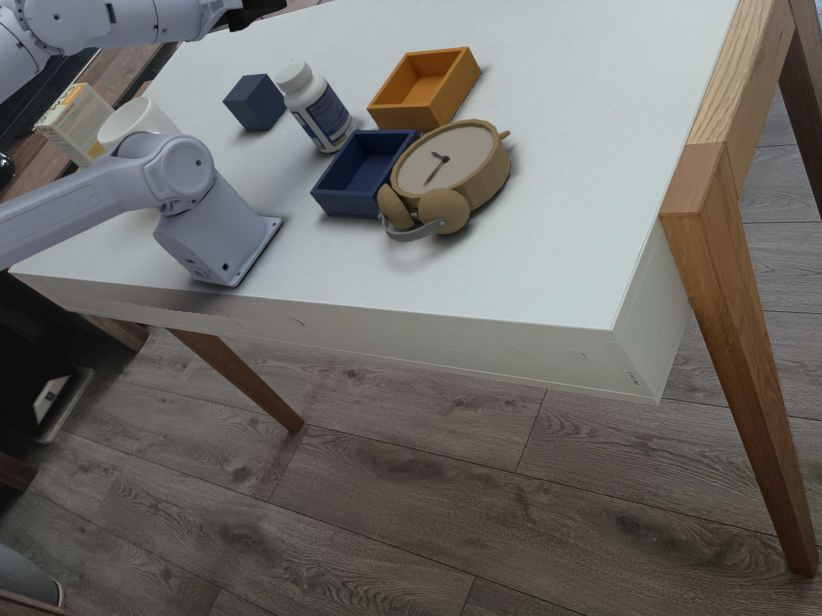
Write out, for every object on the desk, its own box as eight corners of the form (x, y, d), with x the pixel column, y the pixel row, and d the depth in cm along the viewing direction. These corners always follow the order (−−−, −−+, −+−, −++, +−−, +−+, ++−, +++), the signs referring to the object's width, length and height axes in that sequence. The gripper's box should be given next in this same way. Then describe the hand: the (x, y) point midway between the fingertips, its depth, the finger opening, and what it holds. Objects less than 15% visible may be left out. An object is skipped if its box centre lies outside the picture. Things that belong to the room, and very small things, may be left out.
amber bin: (443, 131, 80) (428, 106, 77) (381, 132, 85) (365, 108, 83) (481, 72, 83) (468, 46, 80) (419, 76, 88) (405, 52, 86)
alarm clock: (522, 117, 70) (430, 217, 63) (537, 162, 73) (450, 262, 66) (432, 116, 76) (340, 206, 69) (449, 158, 80) (363, 248, 73)
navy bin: (389, 220, 75) (371, 196, 72) (327, 215, 80) (308, 192, 78) (432, 153, 78) (416, 128, 76) (370, 153, 84) (353, 129, 81)
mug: (154, 201, 101) (87, 137, 93) (196, 158, 103) (134, 91, 95) (192, 221, 93) (122, 153, 85) (237, 173, 95) (173, 102, 87)
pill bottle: (362, 116, 89) (314, 47, 82) (354, 146, 86) (304, 77, 79) (324, 130, 91) (275, 64, 84) (315, 159, 88) (263, 93, 81)
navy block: (269, 130, 98) (244, 100, 94) (246, 130, 101) (221, 101, 97) (290, 103, 100) (266, 73, 96) (266, 104, 103) (243, 75, 99)
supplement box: (141, 153, 113) (70, 82, 103) (158, 153, 110) (87, 80, 100) (107, 194, 109) (31, 125, 100) (124, 195, 107) (47, 124, 97)
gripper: (166, -51, 64) (294, -54, 73) (95, -23, 74) (216, -28, 83) (189, 37, 67) (310, 24, 76) (118, 54, 76) (233, 40, 85)
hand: (262, 2), depth 80 cm, fingers open, 7 cm apart
